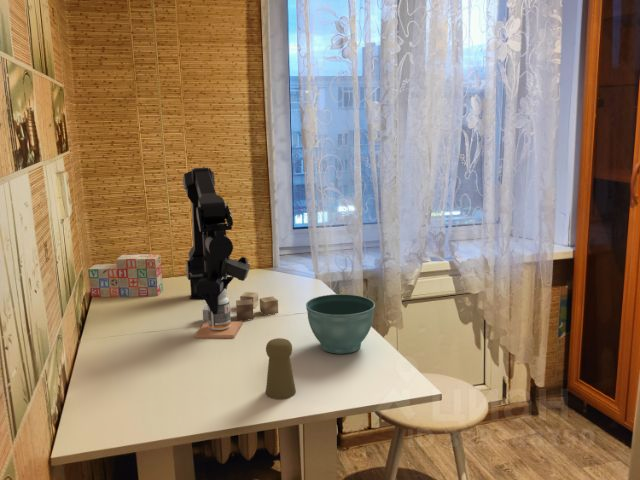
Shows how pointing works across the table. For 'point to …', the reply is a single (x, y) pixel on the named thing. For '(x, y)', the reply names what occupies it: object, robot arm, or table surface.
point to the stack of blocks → (127, 277)
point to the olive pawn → (279, 369)
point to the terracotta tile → (219, 331)
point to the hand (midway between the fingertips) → (218, 309)
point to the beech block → (250, 296)
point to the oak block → (268, 305)
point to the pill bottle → (220, 314)
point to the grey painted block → (205, 314)
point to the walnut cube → (244, 309)
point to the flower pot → (340, 321)
